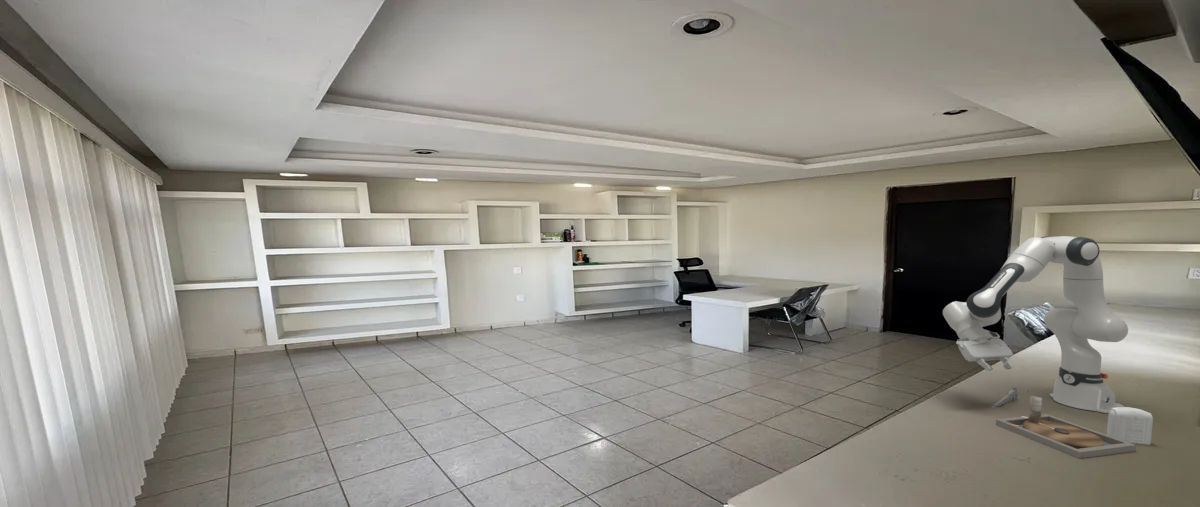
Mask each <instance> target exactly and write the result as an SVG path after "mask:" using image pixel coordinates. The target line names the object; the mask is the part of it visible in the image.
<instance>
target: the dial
mask: <svg viewBox="0 0 1200 507" xmlns="http://www.w3.org/2000/svg"><path fill="white" fill-rule="evenodd" d="M1042 404H1043V398H1042V397H1040V396H1035V395H1030V396H1029V408H1028V410H1029V412H1028V414H1029V415H1028V416H1029V420H1027V421H1025V422H1024V423H1023V428H1024V429H1027V430H1030V431H1032V432H1035V433H1037V434H1040V435H1042V436H1045V437H1048V438H1050V439H1053V440H1055V441H1058V442H1060V443H1063V444H1066V445H1068V446H1071V447H1073V448H1076V449H1081V448H1089V447H1097V446H1104V441H1103V440H1102V439H1101V438H1100V437H1098V436H1097V435H1095V434H1093V433H1090V432H1088V431H1085V430H1083V429H1080V428H1076V427H1073V426H1069V425H1066V424H1061V423H1057V422H1051V421H1044V420H1041V415H1042V406H1043V405H1042Z"/></svg>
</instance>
